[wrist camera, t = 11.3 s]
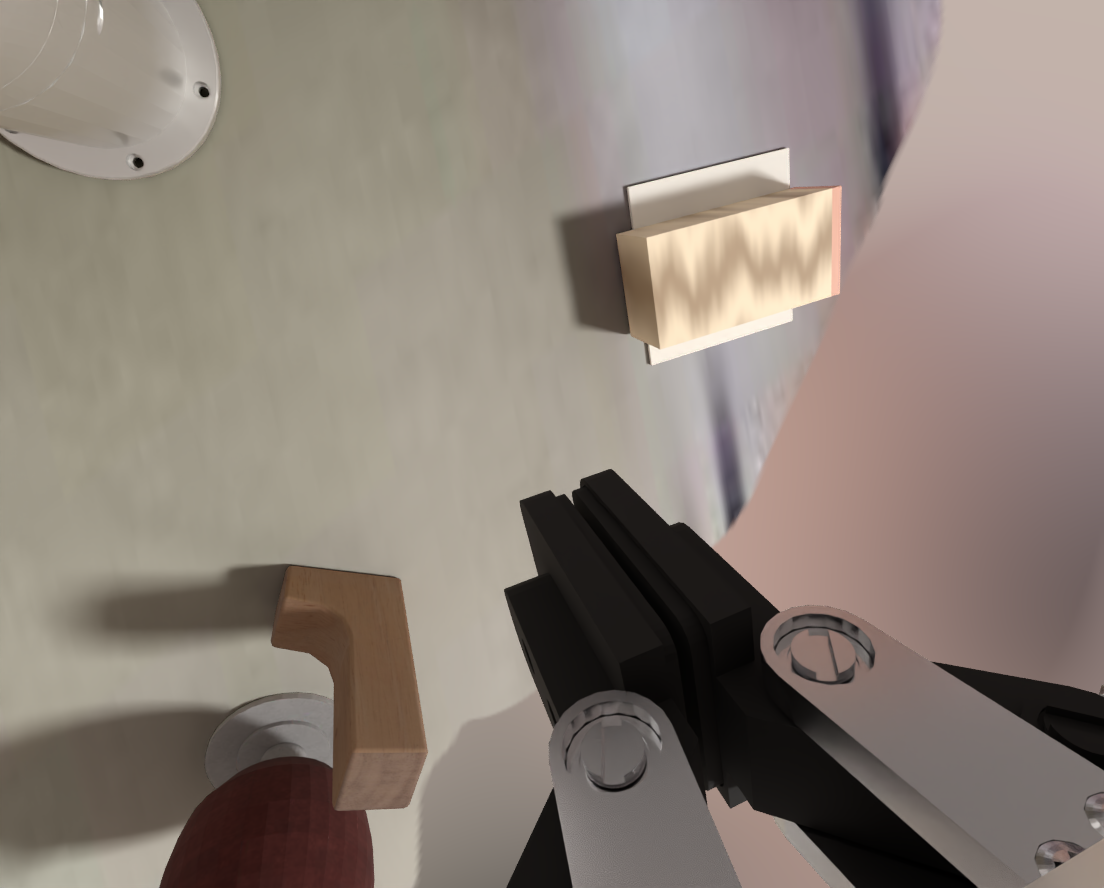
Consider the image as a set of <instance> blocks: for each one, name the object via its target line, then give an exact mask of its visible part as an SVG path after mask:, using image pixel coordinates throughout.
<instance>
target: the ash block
mask: <svg viewBox="0 0 1104 888" xmlns="http://www.w3.org/2000/svg"><path fill="white" fill-rule="evenodd" d="M616 237H617V244H618V251H619V258H620V265H621V271H622V278H623V285H624V292H625V299H626V306H627V313H628V320H629V326H630V333H631V336H632V337H634V338H636V339H639V340H641V341H643V342H645V343H647V344H649V345H651V346H654V347H656V348H658V349H660V350H661V349H664V348H667V347H670V346H673V345H677V344H680V343H683V342H686V341H689V340H693V339H696V338H699V337H702V336H706V335H709V334H712V333H715V332H718V331H722V330H725V329H728V328H731V327H734V326H738V325H741V324H744V323H747V322H750V321H754V320H757V319H760V318H763V317H766V316H770V315H773V314H776V313H779V312H782V311H786V310H789V309H792V308H795V307H798V306H802V305H805V304H808V303H811V302H815V301H818V300H821V299H824V298H827V297H831V296H834V295H837V294H840V243H841V186H819V187H794V188H790V189H786V190H783V191H779V192H775V193H771V194H767V195H764V196H760V197H756V198H752V199H748V200H744V201H741V202H737V203H733V204H729V205H725V206H722V207H718V208H714V209H710V210H706V211H702V212H699V213H695V214H691V215H687V216H683V217H680V218H676V219H672V220H668V221H664V222H660V223H657V224H653V225H649V226H645V227H641V228H638V229H634V230H630V231H626V232H622V233H619V234H616Z"/></svg>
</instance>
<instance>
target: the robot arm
mask: <svg viewBox="0 0 1104 888" xmlns="http://www.w3.org/2000/svg"><path fill="white" fill-rule="evenodd" d="M221 84H222V79H221V71H220V62H219V55H218V52H217V49H216V45H215V42H214V38H213V35H212V31H211V29H210V27H209V25H208V23H207V21H206V19H205V17H204V15H203V12H202V10H201V8H200V6H199V5H198V3H197V2H196V0H0V134H1V135H2V136H4V137H5V138H6V139H7V140H8V141H10V142H11V143H13V144H15V145H16V146H18V147H19V148H21V149H22V150H24V151H26V152H27V153H29V154H30V155H32V156H33V157H35V158H38V159H40V160H42V161H44V162H46V163H49V164H51V165H53V166H55V167H57V168H60V169H62V170H66V171H69V172H73V173H76V174H80V175H83V176H87V177H93V178H100V179H110V180H134V179H140V178H147V177H153V176H156V175H158V174H161V173H164V172H166V171H169V170H172V169H174V168H175V167H177V166H178V165H180V164H181V163H183V162H184V161H186V160H187V159H189V158H190V157H191V156H192V155H193V154H194V153H195V152H196V151H197V150H198V148H199V147H200V146H201V145H202V144H203V143H204V142H205V140H206V138H207V136H208V134H209V133H210V131H211V129H212V127H213V126H214V123H215V119H216V116H217V113H218V109H219V106H220V97H221ZM202 88H207V89H208V91H209V96H208V97H206V98H205V97H202V96H201V94H200V90H201V89H202ZM137 158H140V159H142V161H143V163H144V165H143V167H141V168H139V167H137V166H136V164H135V160H136V159H137ZM572 497H573V503H574V505H573V504H572V502H571V501H570V500H569V499H568V497H567V496H566V495H565V494H562V495H560V496H557V497H555V495H554V494H553V493H552V491H551V490H549V491H546V492H543V493H540V494H537V495H535V496H532V497H529V498H526V499H523V500H520V508H521V512H522V516H523V520H524V523H525V527H526V531H527V535H528V538H529V542H530V546H531V550H532V553H533V557H534V561H535V565H536V568H537V572H538V576H537V577H534V578H532V579H529V580H527V581H524V582H521V583H519V584H516V585H514V586H511V587H508V588H506V589H504V592H505V596H506V600H507V603H508V607H509V610H510V613H511V616H512V620H513V623H514V626H515V629H516V632H517V635H518V638H519V641H520V644H521V647H522V650H523V653H524V656H525V658H526V661H527V664H528V667H529V669H530V672H531V674H532V677H533V679H534V682H535V684H536V687H537V689H538V692H539V694H540V697H541V699H542V702H543V704H544V707H545V709H546V711H547V714H548V717H549V719H550V721H551V724H552V726H553V732H552V735H551V738H550V741H549V765H550V770H551V775H552V781H553V786H554V787H553V789H552V791H551V793H550V795H549V798H548V800H547V802H546V804H545V806H544V808H543V811H542V813H541V815H540V817H539V819H538V821H537V823H536V825H535V828H534V830H533V832H532V834H531V836H530V838H529V840H528V843H527V845H526V847H525V849H524V851H523V853H522V856H521V858H520V860H519V862H518V864H517V866H516V868H515V871H514V873H513V875H512V877H511V879H510V881H509V883H508V885H507V888H742V886H741V884H740V882H739V879H738V877H737V875H736V872H735V870H734V868H733V865H732V863H731V861H730V859H729V856H728V854H727V852H726V849H725V847H724V845H723V842H722V840H721V837H720V835H719V833H718V830H717V828H716V826H715V823H714V821H713V819H712V816H711V814H710V812H709V810H708V807H707V800H706V793H705V790H707V791H708V790H710V789H712V788H714V787H717V788H718V790H719V792H720V793H721V795H722V796H723V798H724V799H725V801H726V803H727V804H728V806H729V807H730V808H732V807H735V806H736V805H738V804H740V803H742V802H744V801H746V800H747V801H748V802H749V804H750V805H751V806H752V808H753V809H754V810H756V811H760V812H763V813H766V814H769V815H772V816H773V817H774V820H775V823H776V824H777V825H778V827H779V829H780V830H781V831H782V833H783V834H784V836H785V837H786V838H787V840H788V841H789V842H790V843H791V844H792V845H793V846H794V847H795V848H796V850H797V851H798V852H799V853H800V854H801V855H802V856H803V857H804V859H805V860H806V861H807V862H808V863H809V864H810V865H811V866H812V867H813V868H814V870H815V871H816V872H817V873H818V874H819V875H820V876H821V878H822V879H823V880H824V881H825V882H826V883H827V884H828V885H829V886H830V888H1104V685H1102V686H1101V690H1100V693H1099V695H1098V694H1096V693H1092V692H1089V691H1085V690H1081V689H1077V688H1073V687H1070V686H1064V685H1059V684H1053V683H1048V682H1042V681H1037V680H1031V679H1026V678H1019V677H1014V676H1008V675H1003V674H998V673H992V672H987V671H981V670H975V669H970V668H964V667H959V666H953V665H948V664H942V663H936V662H931V661H929V660H927V659H926V658H924V657H922V656H921V655H919V654H918V653H916V652H914V651H913V650H911V649H910V648H908V647H907V646H905V645H903V644H902V643H900V642H899V641H897V640H895V639H894V638H892V637H891V636H889V635H888V634H886V633H884V632H883V631H881V630H880V629H878V628H876V627H875V626H873V625H871V624H870V623H868V622H867V621H865V620H864V619H862V618H859V617H858V616H856V615H854V614H851V613H849V612H847V611H845V610H840V609H837V608H833V607H829V606H818V605H817V606H816V605H805V606H799V607H792V608H790V609H787V610H785V611H782V612H779V611H778V610H777V609H776V608H775V607H774V606H773V605H772V604H771V603H770V602H769V601H768V600H767V599H765V598H764V596H762V595H761V594H760V593H759V592H758V591H757V590H756V589H755V588H754V587H753V586H752V585H751V584H750V583H749V582H747V581H746V580H745V579H744V578H743V577H742V576H741V575H740V574H739V573H738V572H737V571H736V570H734V568H733V567H731V566H730V565H729V564H728V563H727V562H726V561H725V560H724V559H723V558H722V557H721V556H720V555H719V554H718V553H716V552H715V551H714V550H713V549H712V548H711V547H710V546H709V545H708V544H707V543H706V542H705V541H704V540H703V539H702V538H700V537H699V536H698V535H697V534H696V533H695V532H694V531H693V530H692V529H691V528H690V527H688V526H687V525H686V524H684V523H680V522H678V523H676V524H673V525H670V526H669V525H668V524H667V523H666V522H665V521H664V520H663V519H662V518H661V517H660V516H659V515H658V514H657V513H656V512H655V511H654V510H653V509H652V508H651V507H650V506H649V505H648V504H647V503H646V502H645V501H644V500H643V499H642V498H641V497H640V496H639V495H638V494H637V493H636V492H635V491H634V490H633V489H632V488H631V487H630V486H629V485H628V484H627V483H626V482H625V481H624V480H623V479H622V478H621V477H620V476H619V475H617V474H616V473H615V472H614V471H613V470H612V469H609V470H606V471H603V472H600V473H597V474H594V475H591V476H589V477H586V478H583V479H581V481H580V488H579V489H577V490H574V491H573V492H572Z"/></svg>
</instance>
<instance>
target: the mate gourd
mask: <svg viewBox="0 0 1104 888" xmlns="http://www.w3.org/2000/svg"><path fill="white" fill-rule="evenodd" d="M333 717H334V701H333V700H331V699H329V698H327V697H324V696H320V695H316V694H310V693H299V692H297V693H282V694H277V695H272V696H267V697H264V698H262V699H259V700H256V701H253V702H251V703H249V704H247V705H245V706H243V707H241V708H239V709H238V710H236V711H235V712H234V713H232V714H231V715H230V716H228V717H227V718H226V719H225V720H224V721H223V722H222V723H221V724H220V725H219V726H218V727H217V729H216V730H215V732H214V734H213V735H212V737H211V738H210V741H209V744H208V747H207V751H206V755H205V770H206V774H207V777H208V779H209V780H210V782H211V784H212V785H213V787H215V788H216V790H214V791H213V792H212V793H211V794H209V795H208V796H207V797H206V798H205V799H204V800H203V801H202V802H201V803H200V804H199V805H198V806H197V807H196V809H195V810H194V812H193V813H192V815H191V817H190V818H189V820H188V821H187V823H186V825H185V827H184V829H183V831H182V832H181V834H180V836H179V838H178V840H177V842H176V845H175V847H174V849H173V852H172V854H171V856H170V859H169V861H168V863H167V866H166V868H165V871H164V874H163V877H162V880H161V884H160V887H159V888H374V863H373V846H372V838H371V833H370V828H369V824H368V819H367V814H366V811H365V810H350V811H337V810H334V807H333V804H332V788H333Z"/></svg>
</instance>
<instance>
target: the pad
mask: <svg viewBox="0 0 1104 888" xmlns="http://www.w3.org/2000/svg"><path fill="white" fill-rule="evenodd" d="M786 189H790V173H789V148H785V149H781V150H777V151H773V152H769V153H765V154H760V155H756V156H752V157H748V158H744V159H740V160H736V161H732V162H728V163H724V164H720V165H715V166H711V167H707V168H703V169H699V170H695V171H691V172H687V173H683V174H679V175H675V176H671V177H666V178H662V179H658V180H654V181H650V182H646V183H642V184H638V185H634V186H630V187H627V195H628V202H629V210H630V217H631V225H632V230H634V229H638V228H641V227H645V226H649V225H653V224H657V223H660V222H664V221H668V220H672V219H676V218H680V217H683V216H687V215H691V214H695V213H699V212H702V211H706V210H710V209H714V208H718V207H722V206H725V205H729V204H733V203H737V202H741V201H744V200H748V199H752V198H756V197H760V196H764V195H767V194H771V193H775V192H779V191H783V190H786ZM790 321H792V309H789V310H786V311H782V312H779V313H776V314H773V315H770V316H766V317H763V318H760V319H757V320H754V321H750V322H747V323H744V324H741V325H738V326H734V327H731V328H728V329H725V330H722V331H718V332H715V333H712V334H709V335H706V336H702V337H699V338H696V339H693V340H689V341H686V342H683V343H680V344H677V345H673V346H670V347H667V348H664V349H661V350H660V349H658V348H656V347H654V346H651V345H649V344H647V345H648V352H649V360H650V365H655V364H658V363H661V362H664V361H667V360H670V359H673V358H677V357H680V356H683V355H686V354H689V353H692V352H696V351H699V350H702V349H705V348H708V347H711V346H714V345H718V344H721V343H724V342H727V341H730V340H733V339H737V338H740V337H743V336H746V335H749V334H752V333H755V332H759V331H762V330H765V329H768V328H771V327H774V326H778V325H781V324H784V323H787V322H790Z"/></svg>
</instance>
